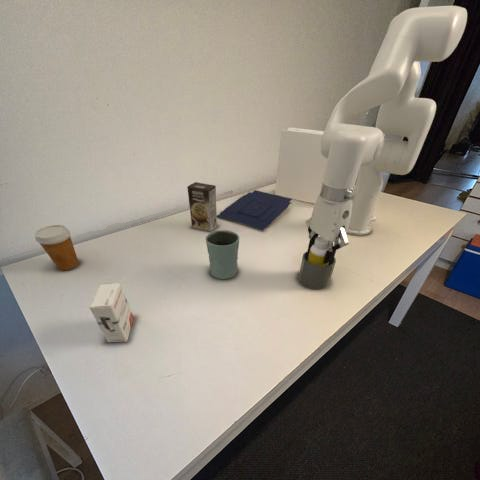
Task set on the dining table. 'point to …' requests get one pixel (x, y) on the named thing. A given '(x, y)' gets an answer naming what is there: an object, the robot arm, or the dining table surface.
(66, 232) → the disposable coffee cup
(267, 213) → the folded navy cloth
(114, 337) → the ink box
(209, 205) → the coffee box
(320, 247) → the pill bottle
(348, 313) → the dining table surface
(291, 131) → the block
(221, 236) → the teal cup
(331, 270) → the steel cup
